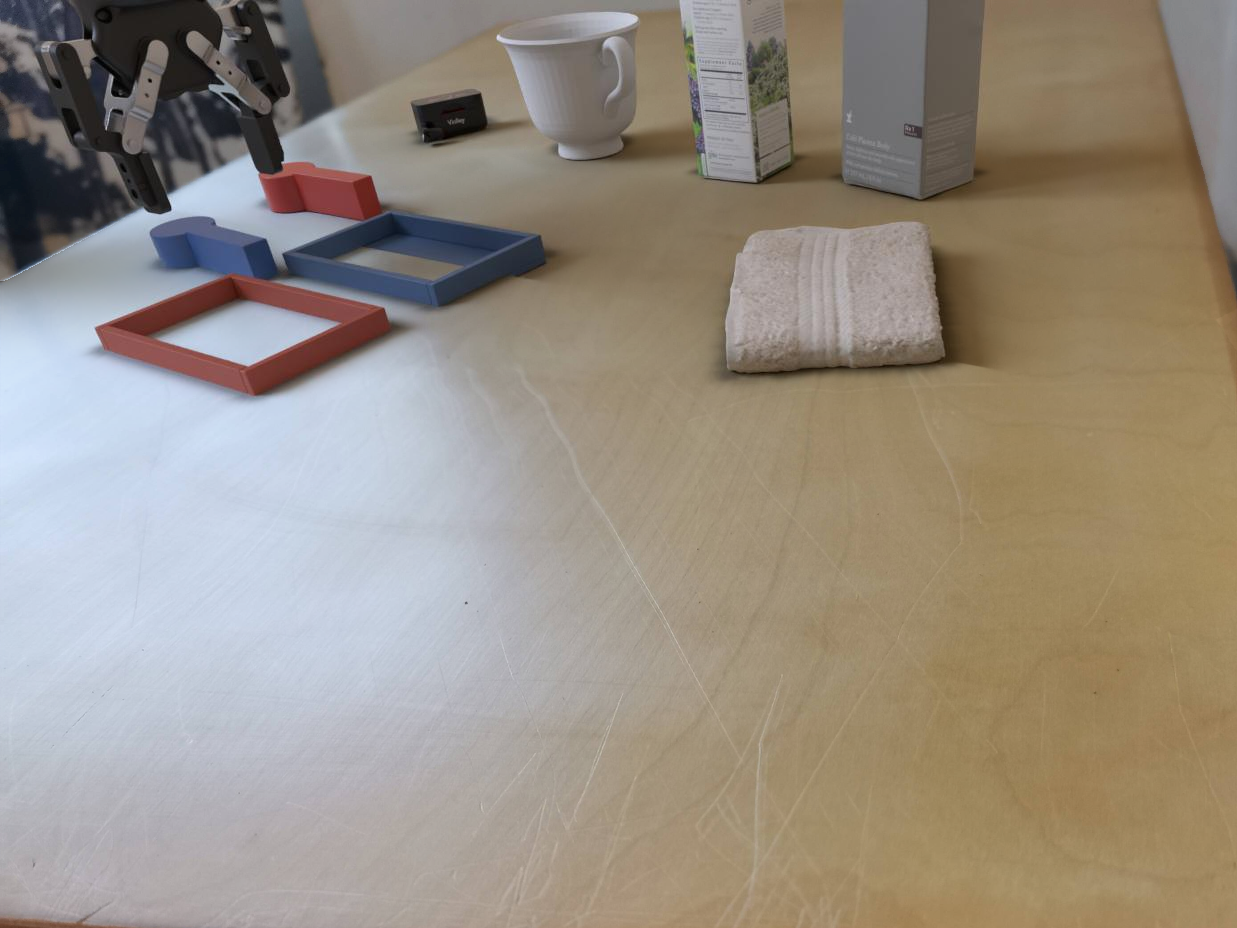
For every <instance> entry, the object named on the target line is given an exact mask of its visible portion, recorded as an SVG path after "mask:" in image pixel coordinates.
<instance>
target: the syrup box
mask: <svg viewBox="0 0 1237 928" xmlns="http://www.w3.org/2000/svg"><path fill="white" fill-rule="evenodd" d="M678 1H679V8H680V18H681V19H680V20H681V27H682V35H683V36H682V37H683V45H684V53H685V61H686V71H687V79H688V80H687V81H688V87H689V89H688V90H689V96H690V97H689V98H690V105H691V115H692V122H693V130H694V131H693V132H694V140H695V151H696V157H697V168H698V175H699V176H700V177H701V178H704V179H705V178H706V179H715V180H722V181H732V182H733V181H734V182H746V183H755V184H756V183H759V182H761V181H764V180H765V179H767V178H768V177H770V176H772V175H775V174H776V173H778V172H780V171H782V170H783V169H786V168H787V167H789V166H791V165H792V164H794V162H795V154H794V153H795V151H794V138H793V137H794V136H793V123H792V122H793V121H792V107H791V92H790V74H789V72H790V71H789V59H788V58H789V57H788V44H787V41H788V40H787V28H786V15H785V14H786V13H785V12H786V11H785V0H678Z"/></svg>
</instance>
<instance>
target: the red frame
mask: <svg viewBox="0 0 1237 928" xmlns="http://www.w3.org/2000/svg"><path fill="white" fill-rule="evenodd" d="M238 298H239V299H242V300H246V301H250V302H254V303H259V304H263V305H266V306H267V305H268V306H271V307H275V308H278V309H279V308H280V309H282V310H283V309H284V310H286V311H292V312H295V313H299V314H304V315H308V316H312V317H317V318H320V319H325V320H328V321H331V322H332V321H333V322H336V323H339V324H337V325H335V326H333V327H330V328H328V329H326V330H324V331H322V332H319V333H317V334H315V335H313V336H311V337H309V338H307V339H305V340H302V341H300V342H298V343H296V344H294V345H292V346H289V347H287V348H285V349H283V350H281V351H278V352H276V353H274V354H272V355H270V356H268V357H266V358H264V359H261V360H259V361H257V362H255V363H252V364H251V365H248V366H247V365H245V364H242V363H238V362H235V361H231V360H228V359H224V358H220V357H218V356H214V355H211V354H207V353H204V352H200V351H196V350H194V349H190V348H186V347H183V346H180V345H176V344H172V343H169V342H166V341H162V340H159V339H156V338H152V337H148V336H149V335H151V334H154V333H157V332H159V331H162V330H164V329H166V328H170V327H171V326H173V325H176V324H179V323H181V322H183V321H186V320H188V319H191V318H193V317H195V316H197V315H200V314H202V313H205V312H207V311H210V310H212V309H215V308H217V307H219V306H222V305H224V304H227V303H229V302H231V301H233V300H236V299H238ZM94 330H95V332H96V335H97V336H98V339H99V341H100V343H101V345H102V347H103V349H104V350H105V351H108V352H111V353H115V354H118V355H121V356H124V357H126V358H127V357H128V358H131V359H134V360H137V361H141V362H144V363H148V364H150V365H152V366H153V365H154V366H156V367H159V368H163V369H166V370H169V371H173V372H176V373H179V374H181V375H186V376H189V377H192V378H195V379H198V380H202V381H205V382H209V383H212V384H214V385H217V386H221V387H224V388H228V389H231V390H233V391H237V392H240V393H243V394H246V395H250V396H254V397H256V396H258V395H260V394H262V393H264V392H266V391H268V390H270V389H272V388H274V387H277V386H279V385H281V384H283V383H285V382H287V381H289V380H292V379H293V378H295V377H298V376H299V375H301V374H303V373H305V372H307V371H309V370H312V369H314V368H316V367H318V366H320V365H322V364H324V363H326V362H329V361H331V360H332V359H334V358H336V357H338V356H340V355H343V354H345V353H347V352H349V351H351V350H353V349H355V348H357V347H360V346H361V345H364V344H365V343H367V342H369V341H371V340H374V339H375V338H378V337H380V336H381V335H384V334H386V333H388V332H390V331H392V327H391V323H390V321H389V318H388V314H387V311H386V308H385V307H384V306H378V305H375V304H370V303H366V302H362V301H357V300H353V299H349V298H344V297H339V296H337V295H331V294H326V293H322V292H318V291H313V290H310V289H305V288H301V287H296V286H292V285H288V284H283V283H279V282H275V281H270V280H267V279H266V280H262V279H258V278H253V277H249V276H245V275H240V274H236V273H231V274H228V275H227V274H225V275H222V276H220V277H218V278H215V279H213V280H210V281H208V282H205V283H203V284H200V285H197V286H195V287H193V288H191V289H187V290H186V291H183V292H180V293H177V294H175V295H173V296H170V297H167V298H165V299H163V300H160V301H158V302H155V303H153V304H150V305H147V306H144V307H142V308H140V309H137V310H135V311H132V312H129V313H127V314H125V315H123V316H122V315H121V316H119V317H117V318H115V319H112V320H110V321H107V322H105V323H102V324H100V325H97V326H95V327H94Z"/></svg>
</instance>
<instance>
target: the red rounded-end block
mask: <svg viewBox="0 0 1237 928" xmlns="http://www.w3.org/2000/svg"><path fill="white" fill-rule="evenodd" d="M282 166H283V171H282V172H280V173H277V174H274V175H269V174H262V173H260V172H258V179H259V182H260V184H261V187H262V190H263V193H264V196H265V199H266V201H267V204H268V207H269V210H270V211H271V212H272V213H273V212H274V213H277V214H278V213H279V214H288V213H297V212H303V211H307V212H313V213H318V214H324V215H331V216H335V217H341V218H347V219H352V220H358V221H365V220H367V219H370V218H372V217H375V216H377V215H380V214H382V213H383V210H382V206H381V203H380V200H379V196H378V193H377V190H376V187H375V183H374V180H373V175H371V174H365V173H358V172H350V171H345V170H338V169H332V168H331V169H330V168H324V167H316V165H315V163H313V162H310V161H291V162H284V163H282Z"/></svg>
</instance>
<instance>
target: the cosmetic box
mask: <svg viewBox="0 0 1237 928" xmlns="http://www.w3.org/2000/svg"><path fill="white" fill-rule="evenodd" d="M985 5H986V0H842V101H841V102H842V104H841V105H842V107H841V108H842V109H841V110H842V114H841V115H842V116H841V117H842V118H841V119H842V121H841V176H842V178H843V182H844V183H846V184H849V185H854V186H860V187H864V188H869V189H873V190H877V191H882V192H887V193H891V194H896V195H900V196H901V195H902V196H906V197H911V198H913V199H917V200H924V199H926V198H930V197H932V196H935V195H937V194H939V193H942V192H944V191H947V190H950V189H953V188H956V187H959V186H961V185H964V184H966V183H969V182H970V181H973V180H974V172H975V158H976V157H975V155H976V145H977V144H976V142H977V141H976V140H977V127H978V113H979V96H980V80H981V66H982V51H983V50H982V48H983V34H984V19H985Z"/></svg>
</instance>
